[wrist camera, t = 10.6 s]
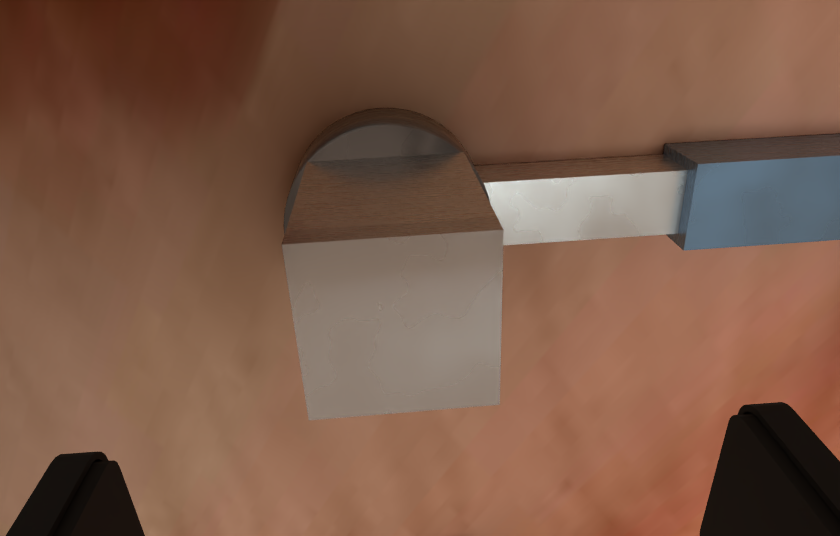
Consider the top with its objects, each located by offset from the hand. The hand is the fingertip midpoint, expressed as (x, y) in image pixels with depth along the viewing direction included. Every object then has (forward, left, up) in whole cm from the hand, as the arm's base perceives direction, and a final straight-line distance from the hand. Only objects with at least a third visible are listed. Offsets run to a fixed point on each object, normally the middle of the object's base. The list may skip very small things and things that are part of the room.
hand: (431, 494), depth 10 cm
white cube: (+1, 0, -12) cm, 12 cm away
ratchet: (+1, +7, -15) cm, 17 cm away
